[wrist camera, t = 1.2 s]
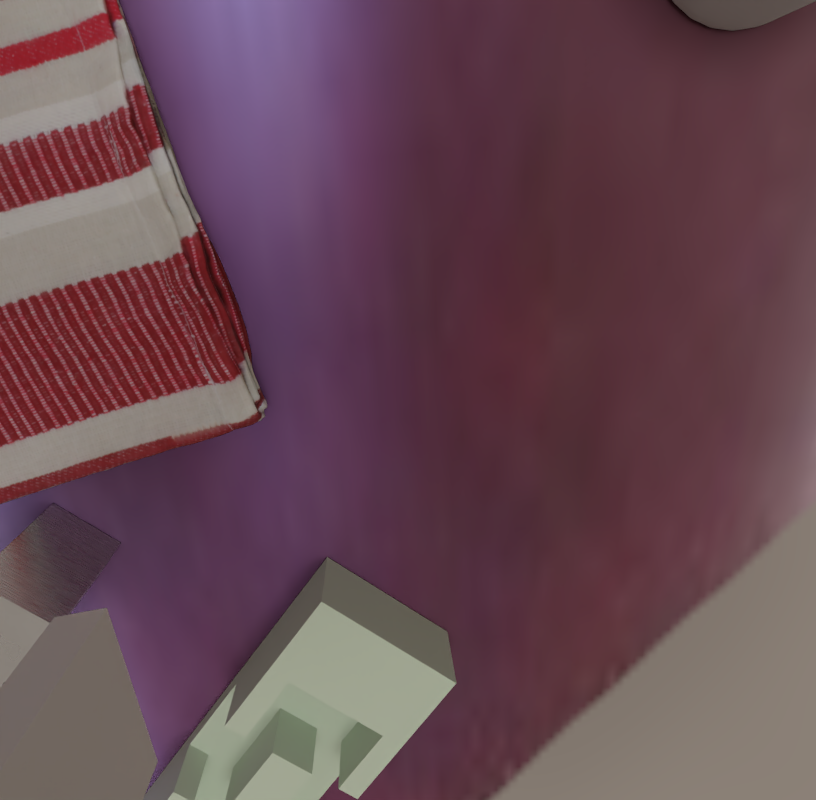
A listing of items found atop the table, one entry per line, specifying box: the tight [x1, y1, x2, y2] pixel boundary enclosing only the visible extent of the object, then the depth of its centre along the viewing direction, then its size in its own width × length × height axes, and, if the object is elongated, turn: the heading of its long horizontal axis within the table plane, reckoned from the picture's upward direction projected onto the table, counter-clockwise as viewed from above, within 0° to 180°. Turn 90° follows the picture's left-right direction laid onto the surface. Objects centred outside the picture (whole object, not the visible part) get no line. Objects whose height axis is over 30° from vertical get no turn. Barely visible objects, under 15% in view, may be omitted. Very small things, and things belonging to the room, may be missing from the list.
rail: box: [143, 557, 456, 800], centre depth 35 cm, size 20×7×4 cm, turn 144°
